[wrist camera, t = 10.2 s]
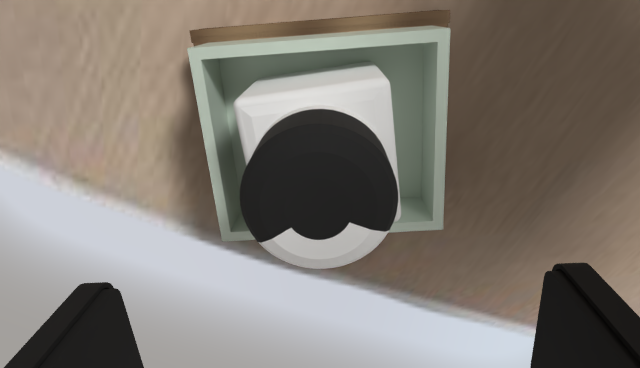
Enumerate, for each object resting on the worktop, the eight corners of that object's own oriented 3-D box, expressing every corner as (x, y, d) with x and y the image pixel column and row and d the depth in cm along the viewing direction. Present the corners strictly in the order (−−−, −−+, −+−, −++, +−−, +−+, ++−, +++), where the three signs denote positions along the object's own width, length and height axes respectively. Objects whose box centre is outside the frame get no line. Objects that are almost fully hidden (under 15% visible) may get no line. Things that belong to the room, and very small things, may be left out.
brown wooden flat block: (437, 10, 27) (450, 10, 25) (433, 192, 32) (442, 210, 29) (203, 28, 28) (189, 30, 25) (232, 204, 33) (223, 222, 30)
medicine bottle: (255, 77, 26) (198, 128, 15) (374, 59, 25) (409, 98, 14) (277, 186, 28) (243, 300, 17) (385, 172, 28) (422, 280, 17)
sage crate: (432, 25, 25) (450, 28, 21) (428, 200, 29) (442, 229, 25) (208, 42, 26) (187, 48, 22) (235, 212, 30) (222, 241, 26)
